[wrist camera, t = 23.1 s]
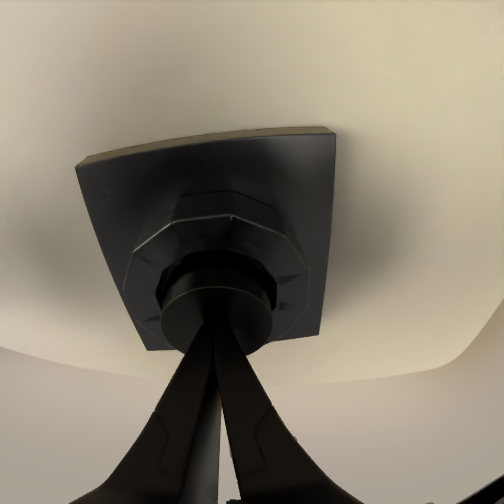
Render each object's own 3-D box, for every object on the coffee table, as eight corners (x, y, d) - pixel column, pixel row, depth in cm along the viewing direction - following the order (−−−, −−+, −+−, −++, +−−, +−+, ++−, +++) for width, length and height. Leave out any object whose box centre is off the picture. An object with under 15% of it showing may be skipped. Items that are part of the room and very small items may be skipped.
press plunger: (268, 321, 12) (274, 356, 10) (179, 329, 12) (175, 364, 10) (265, 245, 10) (272, 280, 8) (155, 256, 10) (145, 293, 8)
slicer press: (313, 318, 16) (327, 363, 13) (150, 334, 15) (142, 379, 13) (325, 126, 10) (358, 147, 8) (87, 156, 10) (49, 187, 7)
